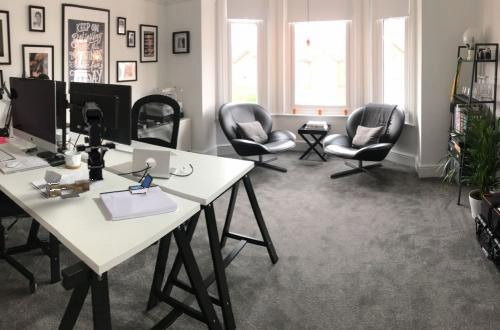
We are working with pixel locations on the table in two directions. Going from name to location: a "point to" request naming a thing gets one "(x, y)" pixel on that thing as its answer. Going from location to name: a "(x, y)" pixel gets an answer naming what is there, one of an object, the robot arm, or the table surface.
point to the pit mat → (70, 195)
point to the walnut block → (82, 185)
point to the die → (52, 176)
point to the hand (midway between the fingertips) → (97, 163)
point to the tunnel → (58, 192)
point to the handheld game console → (144, 182)
